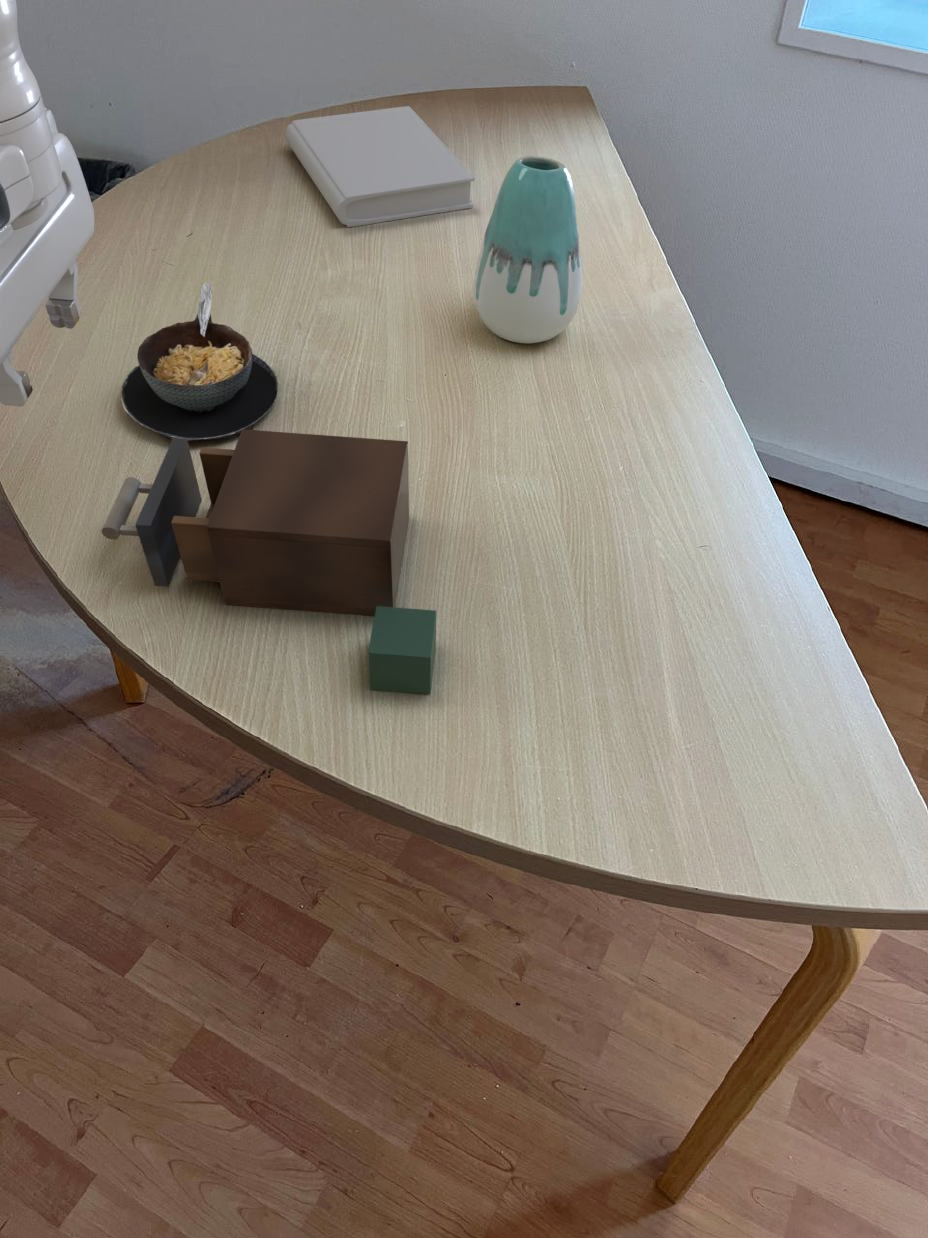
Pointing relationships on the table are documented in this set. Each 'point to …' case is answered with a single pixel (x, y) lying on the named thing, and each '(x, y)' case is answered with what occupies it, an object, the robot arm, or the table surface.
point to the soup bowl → (198, 380)
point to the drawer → (173, 514)
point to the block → (402, 650)
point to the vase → (530, 254)
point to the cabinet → (312, 522)
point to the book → (380, 165)
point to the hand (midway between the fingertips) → (43, 359)
